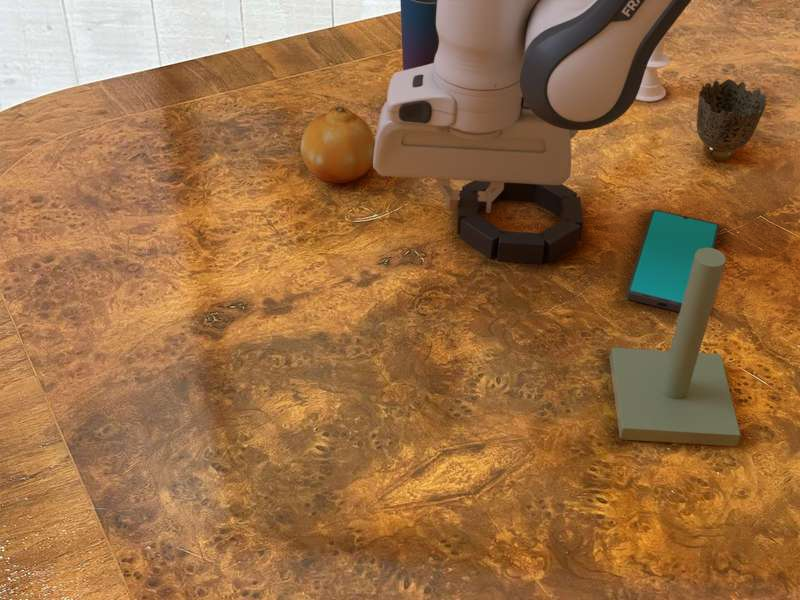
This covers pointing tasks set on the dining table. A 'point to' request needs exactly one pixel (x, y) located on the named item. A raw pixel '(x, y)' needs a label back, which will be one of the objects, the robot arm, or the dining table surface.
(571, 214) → the ring
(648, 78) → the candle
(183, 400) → the dining table surface
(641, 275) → the smartphone
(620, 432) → the post
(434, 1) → the cup
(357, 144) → the fruit
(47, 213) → the dining table surface
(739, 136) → the cup
